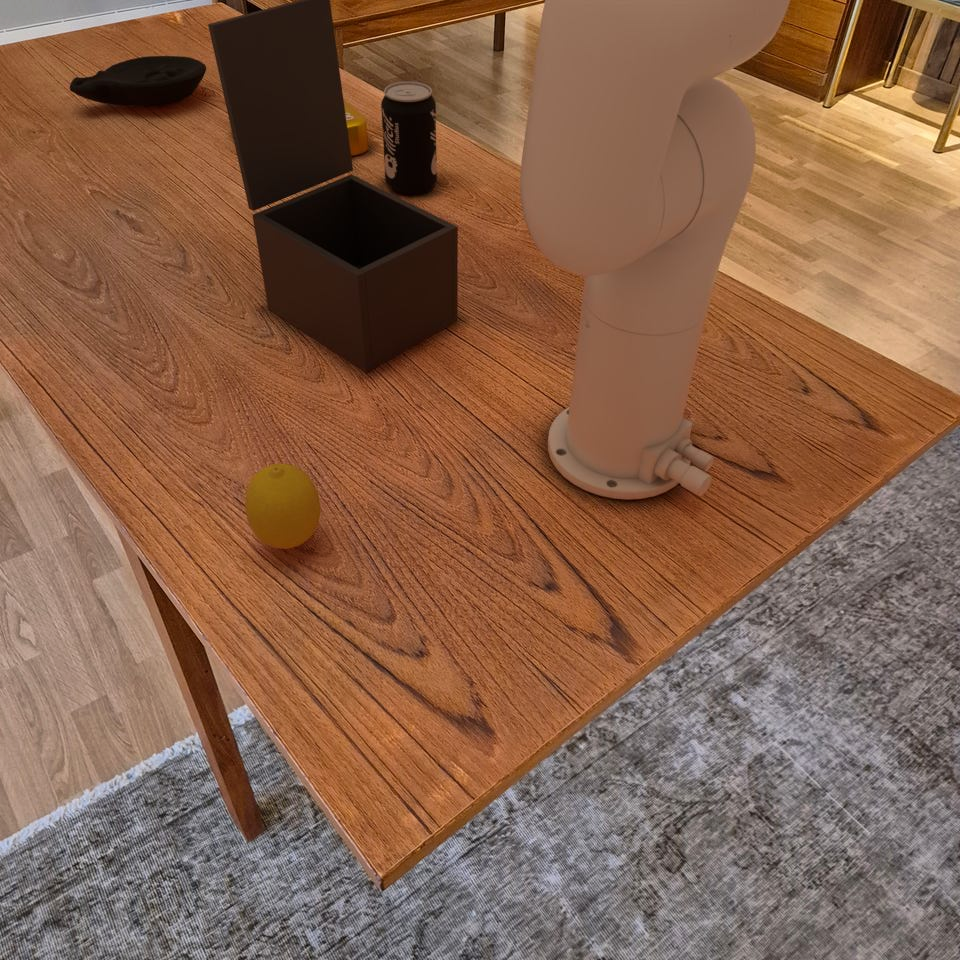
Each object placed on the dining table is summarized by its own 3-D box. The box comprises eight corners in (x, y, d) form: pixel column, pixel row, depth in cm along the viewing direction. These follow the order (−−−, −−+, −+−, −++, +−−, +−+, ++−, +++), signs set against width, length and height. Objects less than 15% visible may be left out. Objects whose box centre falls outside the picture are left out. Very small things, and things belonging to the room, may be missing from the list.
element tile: (231, 132, 125) (225, 97, 122) (331, 113, 130) (327, 79, 127) (268, 175, 116) (262, 139, 112) (373, 152, 121) (371, 117, 118)
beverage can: (430, 200, 112) (428, 103, 103) (379, 194, 113) (373, 97, 104) (442, 177, 116) (441, 82, 108) (393, 171, 117) (388, 77, 109)
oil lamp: (65, 96, 133) (55, 62, 129) (193, 74, 140) (187, 41, 137) (89, 133, 124) (78, 97, 120) (225, 108, 131) (218, 73, 128)
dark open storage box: (457, 321, 93) (458, 226, 85) (366, 373, 86) (357, 275, 78) (359, 265, 100) (351, 173, 93) (268, 309, 94) (251, 214, 86)
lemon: (339, 541, 70) (329, 468, 65) (283, 580, 67) (268, 507, 62) (295, 506, 73) (282, 433, 67) (239, 542, 70) (221, 469, 64)
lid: (329, -6, 81) (295, -13, 84) (212, 25, 75) (180, 16, 78) (353, 170, 92) (322, 159, 95) (253, 211, 85) (223, 197, 88)
